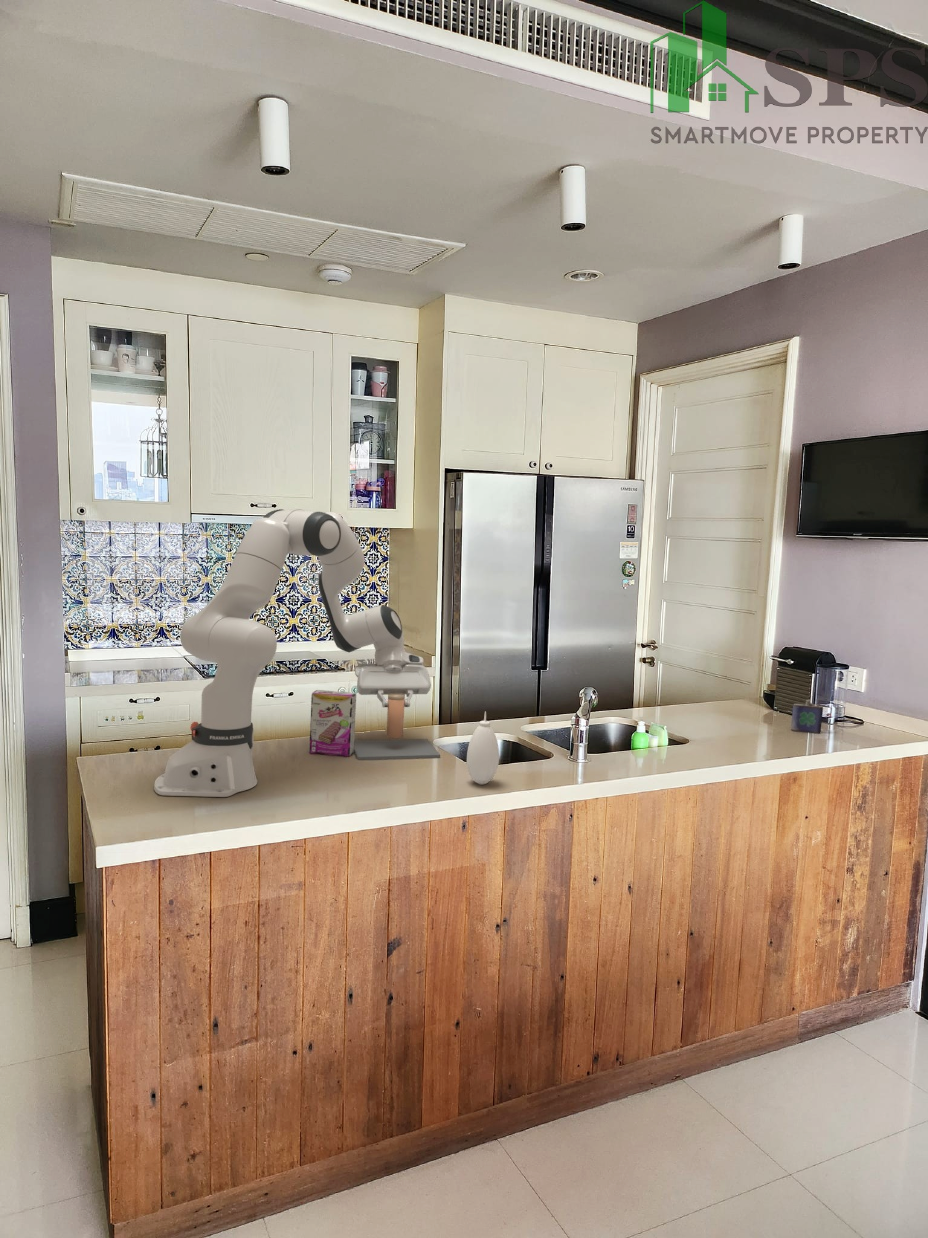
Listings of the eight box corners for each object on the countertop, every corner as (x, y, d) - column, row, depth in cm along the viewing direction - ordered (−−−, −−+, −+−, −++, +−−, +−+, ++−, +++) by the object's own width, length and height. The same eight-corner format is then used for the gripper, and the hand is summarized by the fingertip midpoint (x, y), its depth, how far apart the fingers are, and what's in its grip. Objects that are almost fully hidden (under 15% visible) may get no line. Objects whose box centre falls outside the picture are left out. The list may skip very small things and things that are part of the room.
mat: (358, 760, 217) (358, 757, 216) (349, 743, 232) (350, 740, 232) (440, 757, 222) (440, 754, 222) (427, 741, 238) (427, 738, 238)
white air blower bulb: (498, 779, 206) (502, 708, 204) (496, 789, 199) (500, 715, 196) (467, 777, 207) (470, 706, 205) (463, 787, 199) (467, 713, 197)
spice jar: (388, 738, 224) (389, 696, 223) (385, 733, 228) (386, 693, 227) (404, 737, 225) (406, 696, 224) (401, 733, 230) (403, 692, 228)
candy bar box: (308, 754, 220) (310, 693, 218) (313, 749, 225) (315, 689, 223) (350, 757, 219) (352, 696, 217) (354, 752, 224) (356, 692, 222)
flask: (791, 731, 274) (794, 699, 272) (789, 729, 276) (793, 697, 275) (821, 734, 271) (824, 702, 270) (819, 732, 274) (823, 700, 273)
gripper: (355, 657, 228) (359, 700, 220) (428, 657, 234) (434, 699, 225) (353, 670, 233) (356, 712, 225) (424, 670, 238) (430, 711, 230)
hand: (396, 706), depth 225 cm, fingers closed on spice jar, 4 cm apart
